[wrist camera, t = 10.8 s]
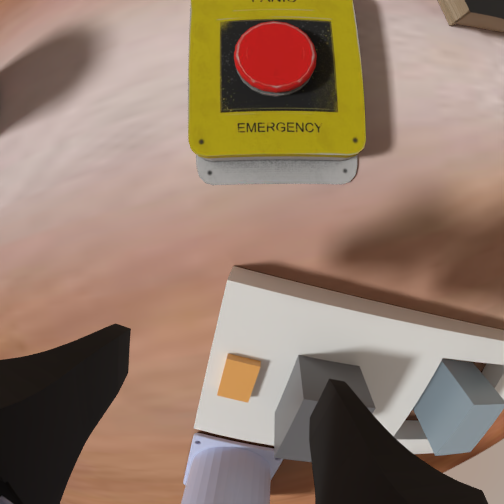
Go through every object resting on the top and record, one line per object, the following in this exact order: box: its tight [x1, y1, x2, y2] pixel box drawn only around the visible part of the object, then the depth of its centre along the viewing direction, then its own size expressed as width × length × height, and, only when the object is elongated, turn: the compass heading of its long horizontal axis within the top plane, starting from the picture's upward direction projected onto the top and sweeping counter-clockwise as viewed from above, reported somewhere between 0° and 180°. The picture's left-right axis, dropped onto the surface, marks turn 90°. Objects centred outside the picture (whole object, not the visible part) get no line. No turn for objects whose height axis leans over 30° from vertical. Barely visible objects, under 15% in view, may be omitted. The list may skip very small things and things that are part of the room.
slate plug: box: [413, 359, 504, 456], centre depth 18 cm, size 5×4×6 cm
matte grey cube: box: [274, 355, 376, 462], centre depth 16 cm, size 5×4×4 cm
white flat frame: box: [194, 266, 504, 454], centre depth 19 cm, size 12×26×3 cm, turn 76°
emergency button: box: [188, 0, 366, 185], centre depth 14 cm, size 9×4×15 cm
